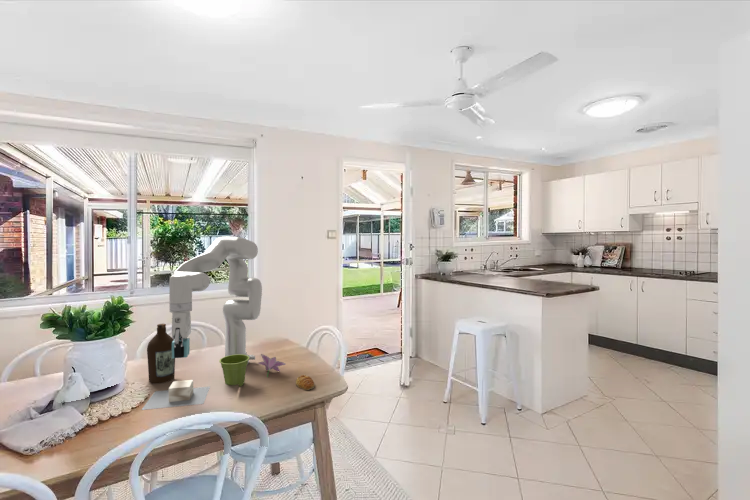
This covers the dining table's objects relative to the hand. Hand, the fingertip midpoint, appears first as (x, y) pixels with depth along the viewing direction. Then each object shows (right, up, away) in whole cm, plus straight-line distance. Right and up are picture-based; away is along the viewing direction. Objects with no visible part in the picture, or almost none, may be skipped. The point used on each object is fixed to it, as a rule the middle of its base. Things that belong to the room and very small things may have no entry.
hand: (180, 354), depth 139 cm
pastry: (+44, -18, +17) cm, 51 cm away
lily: (+26, -18, +29) cm, 43 cm away
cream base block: (0, -16, +1) cm, 16 cm away
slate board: (-1, -18, +1) cm, 18 cm away
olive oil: (-17, -17, +18) cm, 30 cm away
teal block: (0, -1, 0) cm, 1 cm away
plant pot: (+14, -18, +16) cm, 28 cm away
